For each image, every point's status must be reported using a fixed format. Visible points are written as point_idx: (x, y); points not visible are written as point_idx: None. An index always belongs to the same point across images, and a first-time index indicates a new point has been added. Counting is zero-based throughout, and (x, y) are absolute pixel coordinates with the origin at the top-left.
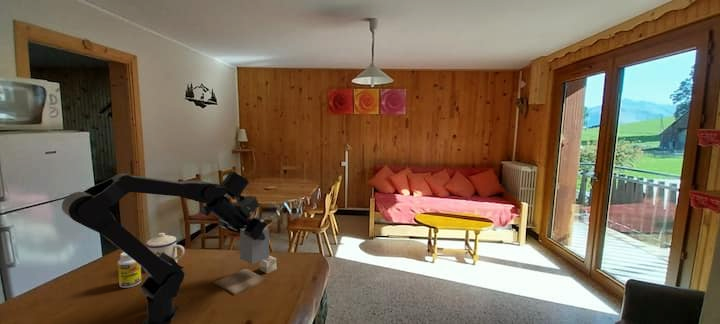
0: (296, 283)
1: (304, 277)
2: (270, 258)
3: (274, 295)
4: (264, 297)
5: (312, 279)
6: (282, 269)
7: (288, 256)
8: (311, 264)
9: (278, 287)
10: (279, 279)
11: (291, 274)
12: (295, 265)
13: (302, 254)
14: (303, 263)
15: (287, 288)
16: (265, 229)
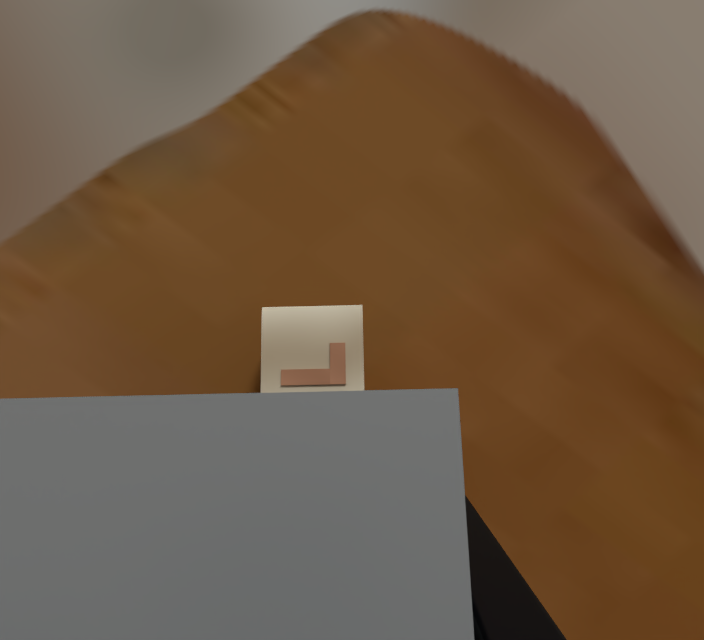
0: (637, 364)
1: (609, 276)
2: (323, 337)
3: (664, 564)
4: (638, 626)
5: (670, 261)
6: (399, 298)
7: (266, 145)
8: (493, 126)
9: (593, 478)
10: (505, 403)
11: (508, 305)
12: (420, 203)
13: (321, 65)
14: (439, 150)
15: (649, 446)
16: (443, 474)
